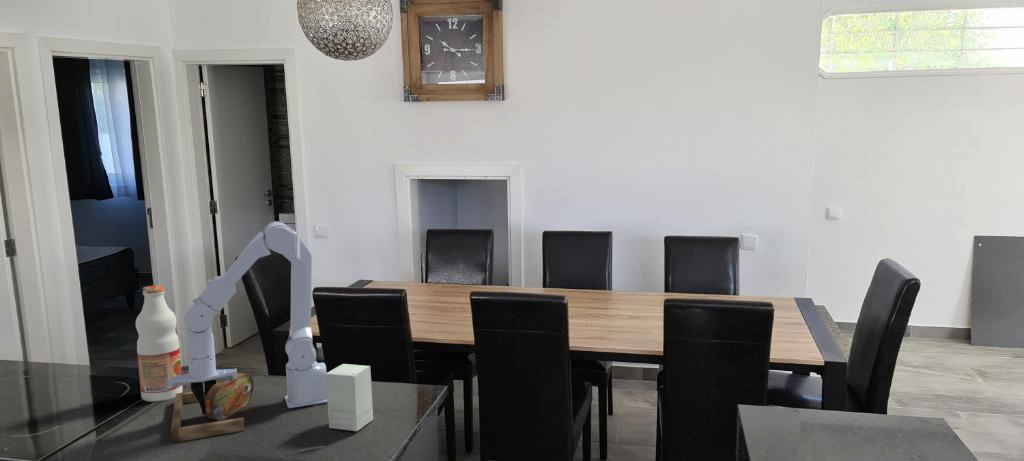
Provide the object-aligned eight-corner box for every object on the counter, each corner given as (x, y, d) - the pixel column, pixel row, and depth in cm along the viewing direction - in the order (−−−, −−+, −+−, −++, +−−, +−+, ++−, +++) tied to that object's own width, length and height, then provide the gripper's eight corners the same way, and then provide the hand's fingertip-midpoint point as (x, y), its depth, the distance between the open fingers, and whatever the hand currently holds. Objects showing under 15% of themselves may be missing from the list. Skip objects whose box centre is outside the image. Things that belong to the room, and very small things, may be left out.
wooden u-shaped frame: (240, 394, 176) (239, 384, 176) (244, 430, 153) (243, 419, 153) (176, 403, 171) (175, 393, 170) (171, 442, 148) (170, 431, 147)
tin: (213, 426, 156) (215, 390, 155) (201, 423, 157) (203, 388, 155) (253, 402, 171) (255, 369, 169) (242, 399, 171) (244, 366, 170)
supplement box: (374, 419, 158) (371, 365, 157) (356, 432, 151) (354, 376, 150) (346, 415, 161) (343, 362, 159) (327, 428, 154) (324, 372, 152)
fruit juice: (136, 396, 176) (126, 287, 173) (175, 386, 183) (167, 281, 179) (148, 405, 169) (138, 292, 166) (188, 395, 176) (180, 286, 173)
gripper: (234, 347, 166) (238, 401, 168) (167, 355, 161) (171, 412, 163) (235, 355, 160) (239, 411, 162) (165, 364, 154) (170, 422, 156)
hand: (205, 412), depth 162 cm, fingers closed
